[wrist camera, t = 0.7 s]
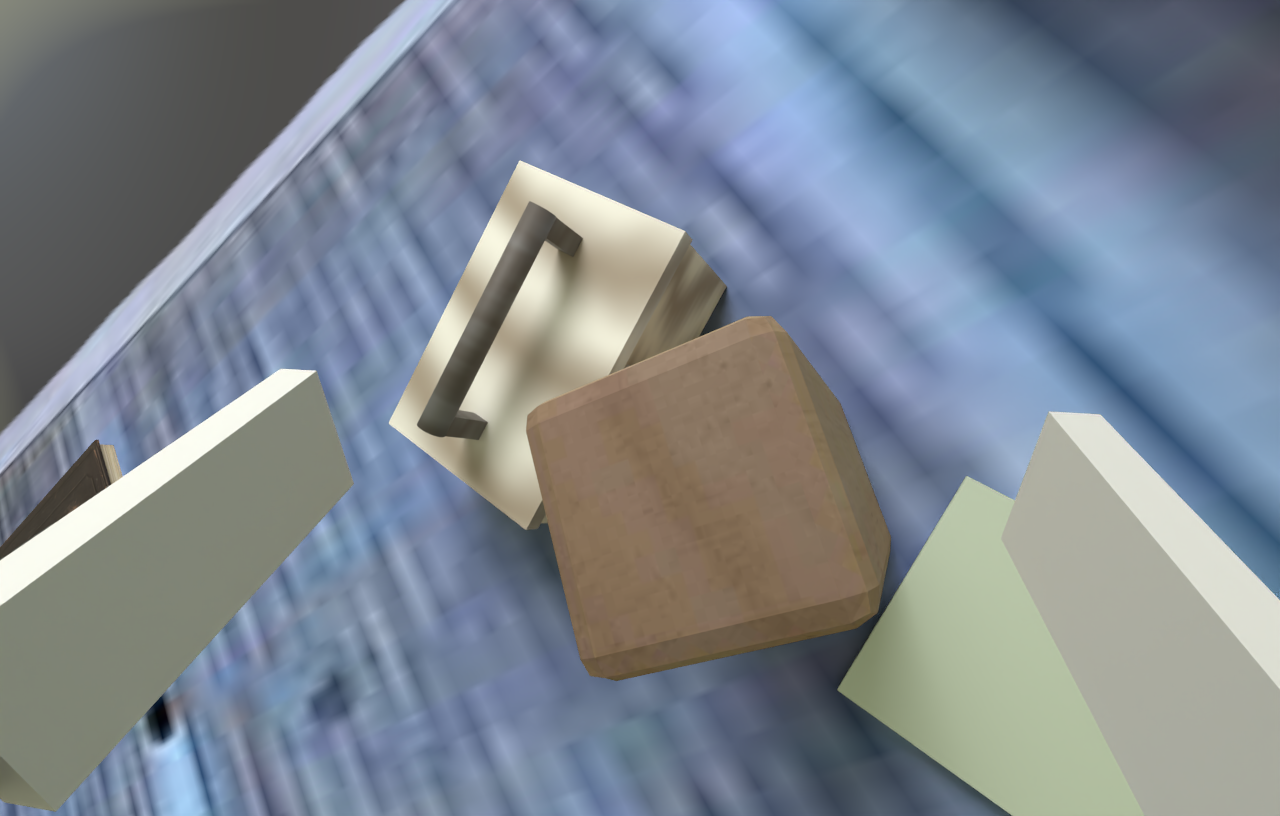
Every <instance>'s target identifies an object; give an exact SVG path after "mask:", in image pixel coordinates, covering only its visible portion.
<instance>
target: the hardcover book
mask: <svg viewBox="0 0 1280 816" xmlns="http://www.w3.org/2000/svg"><path fill="white" fill-rule="evenodd" d="M122 477H123V476H122V473H121V470H120V466H119V463H118V459H117V456H116V452H115V449H114V446H113V445H100V444H99V440H95V441H94V442H93V443H92V444H91V445H90V446H89V447H88V449H87V450H86V451H85V452H84V453H83V454H82V455H81V457H80V458H79V459H78V460H77V461H76V462H75V463H74V464H73V466H72V467H71V468H70V469H69V470H68V471H67V472H66V474H65V475H64V476H63V477H62V478H61V479H60V480H59V481H58V483H57V484H56V485H55V486H54V487H53V488H52V489H51V491H50V492H49V493H48V494H47V495H46V496H45V497H44V498H43V500H42V501H41V502H40V503H39V504H38V505H37V506H36V507H35V509H34V510H33V511H32V512H31V513H30V514H29V515H28V517H27V518H26V519H25V520H24V521H23V522H22V523H21V524H20V526H19V527H18V528H17V529H16V530H15V531H14V532H13V534H12V535H11V536H10V537H9V538H8V539H7V540H6V541H5V543H4V544H3V545H2V546H1V547H0V558H2V557H3V556H4V557H6V556H7V555H9V554H10V553H11V551H12V550H14V549H15V548H17V547H18V546H20V545H21V544H23V543H24V542H25V541H27V540H28V539H30V538H31V537H33V536H34V535H36V534H37V533H39V532H40V531H42V530H43V529H45V528H46V527H48V526H49V525H51V524H53V523H55V522H57V521H59V520H60V519H62V518H63V517H65V516H66V515H68V514H69V513H70V512H72V511H73V510H75V509H76V508H78V507H79V506H81V505H82V504H84V503H85V502H87V501H88V500H89V499H91V498H92V497H94V496H95V495H97V494H98V493H100V492H101V491H103V490H104V489H106V488H107V487H109V486H110V485H111V484H113V483H114V482H116V481H117V480H119V479H120V478H122Z"/></svg>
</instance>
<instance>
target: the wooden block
mask: <svg viewBox="0 0 1280 816" xmlns="http://www.w3.org/2000/svg"><path fill="white" fill-rule="evenodd" d="M526 434H527V438H528V442H529V446H530V450H531V454H532V459H533V463H534V467H535V471H536V475H537V479H538V484H539V488H540V492H541V496H542V500H543V505H544V509H545V513H546V517H547V521H548V525H549V530H550V534H551V538H552V542H553V546H554V550H555V555H556V559H557V563H558V567H559V571H560V576H561V580H562V584H563V588H564V592H565V596H566V601H567V605H568V609H569V613H570V617H571V621H572V626H573V630H574V634H575V638H576V642H577V647H578V651H579V655H580V659H581V661H582V663H583V664H584V666H585V668H586V670H587V671H588V673H589V675H590V676H594V677H602V678H607V679H611V680H615V681H618V680H623V679H627V678H632V677H637V676H641V675H646V674H650V673H655V672H659V671H664V670H669V669H673V668H678V667H682V666H687V665H692V664H696V663H701V662H705V661H710V660H714V659H719V658H724V657H728V656H733V655H737V654H742V653H746V652H751V651H756V650H760V649H765V648H769V647H774V646H779V645H783V644H788V643H792V642H797V641H801V640H806V639H811V638H815V637H820V636H824V635H829V634H834V633H838V632H843V631H847V630H852V629H856V628H858V627H859V626H861V625H862V624H863V623H865V622H866V621H867V620H869V619H870V618H871V617H873V616H874V615H875V614H877V613H878V610H879V605H880V600H881V595H882V590H883V585H884V580H885V575H886V569H887V564H888V559H889V554H890V544H891V536H890V533H889V531H888V528H887V525H886V523H885V520H884V518H883V515H882V512H881V510H880V507H879V504H878V502H877V499H876V496H875V494H874V491H873V488H872V486H871V483H870V480H869V478H868V475H867V472H866V470H865V467H864V465H863V462H862V459H861V457H860V454H859V451H858V449H857V446H856V443H855V441H854V438H853V435H852V433H851V430H850V427H849V425H848V422H847V419H846V417H845V414H844V412H843V409H842V406H841V404H840V402H839V401H838V400H837V398H836V397H835V396H834V394H833V393H832V392H831V390H830V389H829V388H828V386H827V385H826V384H825V382H824V381H823V380H822V378H821V377H820V376H819V374H818V373H817V372H816V370H815V369H814V368H813V366H812V365H811V364H810V362H809V361H808V360H807V358H806V357H805V356H804V354H803V353H802V352H801V350H800V349H799V348H798V346H797V345H796V344H795V342H794V341H793V340H792V338H791V337H790V336H789V335H788V333H787V332H786V331H785V330H784V329H783V328H782V327H781V326H780V325H779V324H778V323H777V322H776V321H775V320H774V319H773V318H772V317H771V316H754V317H745V318H743V319H741V320H738V321H736V322H734V323H731V324H729V325H726V326H724V327H722V328H719V329H717V330H715V331H712V332H710V333H707V334H705V335H703V336H700V337H698V338H695V339H693V340H691V341H688V342H686V343H684V344H681V345H679V346H676V347H674V348H672V349H669V350H667V351H664V352H662V353H660V354H657V355H655V356H653V357H650V358H648V359H645V360H643V361H641V362H638V363H636V364H634V365H631V366H629V367H626V368H624V369H622V370H619V371H617V372H614V373H612V374H610V375H607V376H605V377H603V378H600V379H598V380H595V381H593V382H591V383H588V384H586V385H584V386H581V387H579V388H576V389H574V390H572V391H569V392H567V393H564V394H562V395H560V396H557V397H555V398H553V399H550V400H548V401H546V402H544V403H542V404H540V405H539V406H537V407H536V408H535V409H534V410H533V411H532V412H530V413H529V414H528V415H527V425H526Z"/></svg>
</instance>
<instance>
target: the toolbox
mask: <svg viewBox="0 0 1280 816" xmlns="http://www.w3.org/2000/svg"><path fill="white" fill-rule="evenodd" d="M691 242H692V239H691V237H690V236H689V235H688V234H687V233H686V232H685V231H683V230H681V229H679V228H676V227H674V226H672V225H669V224H667V223H665V222H662V221H660V220H658V219H655V218H653V217H651V216H648V215H646V214H644V213H641V212H639V211H637V210H634V209H632V208H630V207H627V206H625V205H623V204H620V203H618V202H616V201H613V200H611V199H609V198H606V197H604V196H602V195H599V194H597V193H595V192H592V191H590V190H588V189H585V188H583V187H581V186H578V185H576V184H574V183H571V182H569V181H567V180H564V179H562V178H560V177H557V176H555V175H553V174H550V173H548V172H546V171H543V170H541V169H539V168H536V167H534V166H532V165H529V164H527V163H525V162H522V161H519V163H518V165H517V167H516V169H515V171H514V173H513V175H512V177H511V179H510V181H509V183H508V185H507V187H506V189H505V191H504V193H503V195H502V197H501V199H500V201H499V203H498V205H497V207H496V209H495V211H494V213H493V215H492V217H491V219H490V221H489V223H488V225H487V227H486V229H485V231H484V233H483V235H482V237H481V239H480V241H479V243H478V245H477V247H476V249H475V251H474V253H473V255H472V257H471V259H470V261H469V263H468V265H467V267H466V269H465V271H464V273H463V275H462V277H461V279H460V281H459V283H458V285H457V287H456V289H455V291H454V293H453V295H452V297H451V299H450V301H449V303H448V305H447V307H446V309H445V311H444V313H443V315H442V317H441V319H440V321H439V323H438V325H437V327H436V329H435V331H434V333H433V335H432V337H431V339H430V341H429V343H428V345H427V347H426V349H425V351H424V353H423V355H422V357H421V359H420V361H419V363H418V365H417V367H416V369H415V371H414V373H413V375H412V377H411V379H410V381H409V383H408V385H407V387H406V389H405V391H404V393H403V395H402V397H401V399H400V401H399V403H398V405H397V407H396V410H395V412H394V414H393V416H392V418H391V420H390V422H389V424H390V425H391V426H393V427H394V428H395V429H396V430H398V431H399V432H400V433H402V434H403V435H404V436H406V437H407V438H408V439H409V440H411V441H412V442H413V443H415V444H416V445H417V446H418V447H420V448H421V449H422V450H424V451H425V452H426V453H427V454H429V455H430V456H431V457H433V458H434V459H435V460H436V461H438V462H439V463H440V464H442V465H443V466H444V467H445V468H447V469H448V470H449V471H451V472H452V473H453V474H454V475H456V476H457V477H458V478H460V479H461V480H462V481H463V482H465V483H466V484H467V485H469V486H470V487H471V488H472V489H474V490H475V491H476V492H478V493H479V494H480V495H482V496H483V497H484V498H485V499H487V500H488V501H489V502H491V503H492V504H493V505H494V506H496V507H497V508H498V509H500V510H501V511H502V512H503V513H505V514H506V515H507V516H509V517H510V518H511V519H512V520H514V521H515V522H516V523H518V524H519V525H520V526H521V527H523V528H524V529H525V530H531V529H538V528H539V526H540V524H541V523H548V521H547V517H546V513H545V509H544V505H543V500H542V496H541V492H540V488H539V484H538V479H537V475H536V471H535V467H534V463H533V459H532V454H531V450H530V446H529V442H528V438H527V434H526V425H527V415H528V414H529V413H530V412H532V411H533V410H534V409H535V408H536V407H537V406H539V405H540V404H542V403H544V402H546V401H548V400H550V399H553V398H555V397H557V396H560V395H562V394H564V393H567V392H569V391H572V390H574V389H576V388H579V387H581V386H584V385H586V384H588V383H591V382H593V381H595V380H598V379H600V378H603V377H605V376H607V375H610V374H612V373H614V372H617V371H619V370H622V369H624V368H626V367H629V366H631V365H634V364H636V363H638V362H641V361H643V360H645V359H648V358H650V357H653V356H655V355H657V354H660V353H662V352H664V351H667V350H669V349H672V348H674V347H676V346H679V345H681V344H684V343H686V342H688V341H691V340H693V339H695V338H698V337H699V336H700V334H701V332H702V331H703V329H704V327H705V325H706V323H707V321H708V320H709V318H710V316H711V314H712V312H713V310H714V308H715V307H716V305H717V303H718V301H719V299H720V297H721V296H722V294H723V292H724V290H725V288H726V285H725V284H724V282H723V281H722V280H721V279H720V278H719V277H718V276H717V275H716V273H715V272H714V271H713V270H712V269H711V268H710V267H709V265H708V264H707V263H706V262H705V261H704V260H703V259H702V257H701V256H700V255H699V254H698V253H697V252H696V251H695V249H694V248H693V247H692V246H691V245H690V243H691Z"/></svg>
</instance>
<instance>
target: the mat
mask: <svg viewBox="0 0 1280 816" xmlns="http://www.w3.org/2000/svg"><path fill="white" fill-rule="evenodd" d="M1014 502H1015V500H1013V499H1011V498H1009V497H1007V496H1005V495H1003V494H1001V493H999V492H997V491H995V490H993V489H991V488H989V487H987V486H985V485H983V484H981V483H979V482H977V481H975V480H973V479H972V478H970V477H968V476H966V477H965V479H964V480H963V482H962V484H961V485H960V487H959V489H958V490H957V492H956V494H955V495H954V497H953V498H952V500H951V502H950V503H949V505H948V507H947V508H946V510H945V512H944V513H943V515H942V517H941V518H940V520H939V522H938V523H937V525H936V527H935V528H934V530H933V531H932V533H931V535H930V536H929V538H928V540H927V541H926V543H925V545H924V546H923V548H922V550H921V551H920V553H919V555H918V556H917V558H916V560H915V561H914V563H913V564H912V566H911V568H910V569H909V571H908V573H907V574H906V576H905V578H904V579H903V581H902V583H901V584H900V586H899V588H898V589H897V591H896V592H895V594H894V596H893V597H892V599H891V601H890V602H889V604H888V606H887V607H886V609H885V611H884V612H883V614H882V616H881V617H880V619H879V621H878V622H877V624H876V625H875V627H874V629H873V630H872V632H871V634H870V635H869V637H868V639H867V640H866V642H865V644H864V645H863V647H862V649H861V650H860V652H859V654H858V655H857V657H856V658H855V660H854V662H853V663H852V665H851V667H850V668H849V670H848V672H847V673H846V675H845V677H844V678H843V680H842V682H841V683H840V685H839V687H838V689H837V690H838V691H839V692H840V693H842V694H843V695H845V696H846V697H847V698H849V699H850V700H852V701H853V702H854V703H856V704H857V705H859V706H860V707H861V708H863V709H864V710H866V711H867V712H868V713H870V714H871V715H873V716H874V717H875V718H877V719H878V720H880V721H881V722H882V723H884V724H885V725H887V726H888V727H889V728H891V729H892V730H894V731H895V732H896V733H898V734H899V735H900V736H902V737H903V738H905V739H906V740H907V741H909V742H910V743H912V744H913V745H914V746H916V747H917V748H919V749H920V750H921V751H923V752H924V753H926V754H927V755H928V756H930V757H931V758H933V759H934V760H935V761H937V762H938V763H940V764H941V765H942V766H944V767H945V768H947V769H948V770H949V771H951V772H952V773H954V774H955V775H956V776H958V777H959V778H961V779H962V780H963V781H965V782H966V783H967V784H969V785H970V786H972V787H973V788H974V789H976V790H977V791H979V792H980V793H981V794H983V795H984V796H986V797H987V798H988V799H990V800H991V801H993V802H994V803H995V804H997V805H998V806H1000V807H1001V808H1002V809H1004V810H1005V811H1007V812H1008V813H1009V814H1011V815H1012V816H1144V814H1143V812H1142V810H1141V808H1140V806H1139V804H1138V802H1137V800H1136V798H1135V796H1134V794H1133V792H1132V790H1131V789H1130V787H1129V785H1128V783H1127V781H1126V779H1125V777H1124V775H1123V773H1122V771H1121V769H1120V767H1119V765H1118V763H1117V761H1116V760H1115V758H1114V756H1113V754H1112V752H1111V750H1110V748H1109V746H1108V744H1107V742H1106V740H1105V738H1104V736H1103V734H1102V733H1101V731H1100V729H1099V727H1098V725H1097V723H1096V721H1095V719H1094V717H1093V715H1092V713H1091V711H1090V709H1089V707H1088V706H1087V704H1086V702H1085V700H1084V698H1083V696H1082V694H1081V692H1080V690H1079V688H1078V686H1077V684H1076V682H1075V680H1074V678H1073V677H1072V675H1071V673H1070V671H1069V669H1068V667H1067V665H1066V663H1065V661H1064V659H1063V657H1062V655H1061V653H1060V651H1059V650H1058V648H1057V646H1056V644H1055V642H1054V640H1053V638H1052V636H1051V634H1050V632H1049V630H1048V628H1047V626H1046V624H1045V622H1044V621H1043V619H1042V617H1041V615H1040V613H1039V611H1038V609H1037V607H1036V605H1035V603H1034V601H1033V599H1032V597H1031V595H1030V594H1029V592H1028V590H1027V588H1026V586H1025V584H1024V582H1023V580H1022V578H1021V576H1020V574H1019V572H1018V570H1017V568H1016V567H1015V565H1014V563H1013V561H1012V559H1011V557H1010V555H1009V553H1008V551H1007V549H1006V547H1005V545H1004V543H1003V541H1002V539H1001V537H1002V534H1003V531H1004V529H1005V526H1006V523H1007V521H1008V518H1009V515H1010V513H1011V510H1012V508H1013V505H1014Z"/></svg>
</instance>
